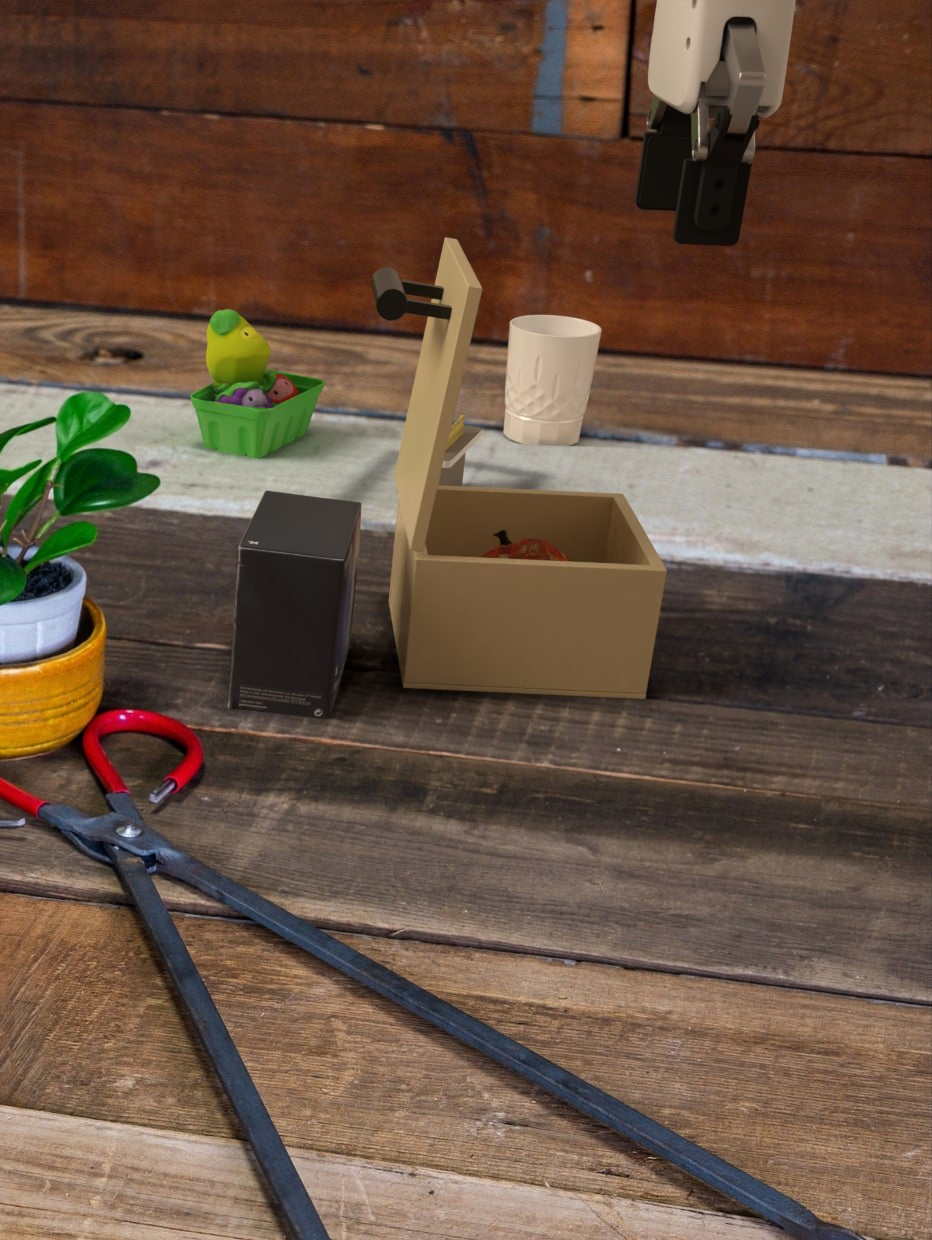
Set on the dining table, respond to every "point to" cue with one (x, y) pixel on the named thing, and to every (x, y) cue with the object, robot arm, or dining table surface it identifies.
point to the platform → (457, 452)
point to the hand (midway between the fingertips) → (683, 225)
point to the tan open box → (527, 596)
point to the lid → (430, 375)
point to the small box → (294, 604)
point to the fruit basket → (249, 392)
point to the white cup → (548, 378)
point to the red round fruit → (525, 549)
